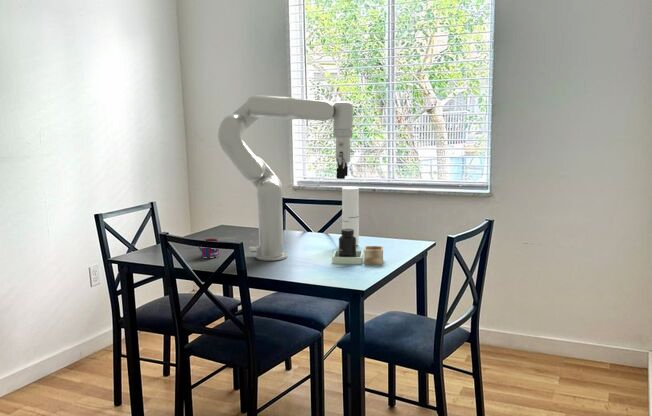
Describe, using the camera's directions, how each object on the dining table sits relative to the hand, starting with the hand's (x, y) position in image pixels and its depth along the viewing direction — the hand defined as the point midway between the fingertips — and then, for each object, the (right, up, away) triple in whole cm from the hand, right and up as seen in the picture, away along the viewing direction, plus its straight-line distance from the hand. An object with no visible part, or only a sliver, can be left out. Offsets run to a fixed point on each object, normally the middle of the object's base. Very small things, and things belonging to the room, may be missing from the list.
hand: (342, 177), depth 241 cm
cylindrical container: (+4, -28, +25) cm, 38 cm away
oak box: (+12, -33, -6) cm, 36 cm away
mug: (-54, -32, +7) cm, 63 cm away
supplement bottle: (+2, -32, -3) cm, 33 cm away
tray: (+2, -33, -3) cm, 33 cm away
